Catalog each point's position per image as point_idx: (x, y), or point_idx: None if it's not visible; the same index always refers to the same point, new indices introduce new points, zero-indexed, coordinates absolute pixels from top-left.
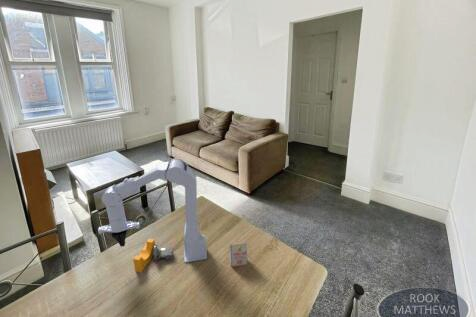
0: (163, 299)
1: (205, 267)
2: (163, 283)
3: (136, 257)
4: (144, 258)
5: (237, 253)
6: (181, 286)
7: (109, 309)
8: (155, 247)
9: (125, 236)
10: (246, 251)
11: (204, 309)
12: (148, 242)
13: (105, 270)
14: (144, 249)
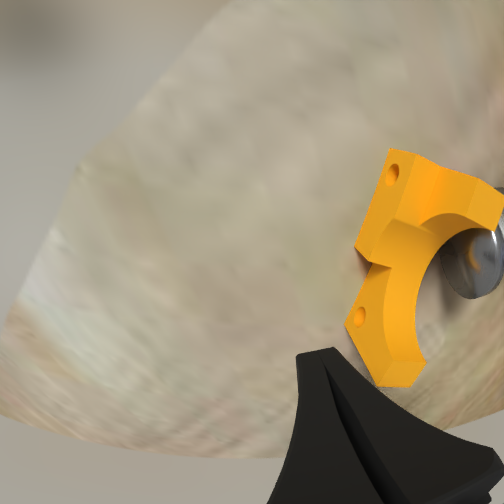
0: (432, 412)
1: None
2: (446, 369)
3: (397, 374)
4: (407, 288)
5: None
6: (484, 370)
7: (275, 452)
8: (499, 278)
9: (381, 396)
10: None
11: (495, 409)
12: (472, 221)
13: (163, 311)
14: (411, 217)
